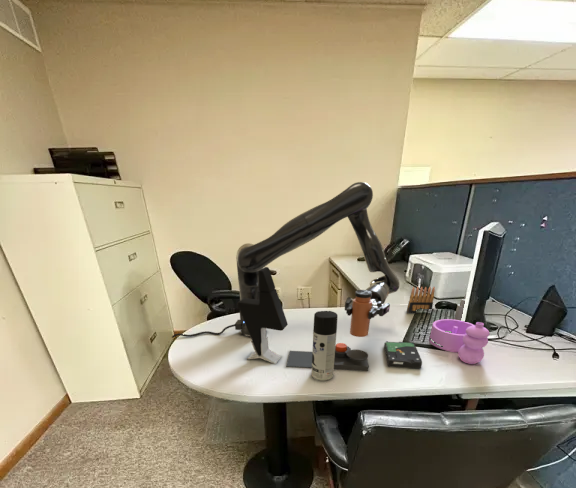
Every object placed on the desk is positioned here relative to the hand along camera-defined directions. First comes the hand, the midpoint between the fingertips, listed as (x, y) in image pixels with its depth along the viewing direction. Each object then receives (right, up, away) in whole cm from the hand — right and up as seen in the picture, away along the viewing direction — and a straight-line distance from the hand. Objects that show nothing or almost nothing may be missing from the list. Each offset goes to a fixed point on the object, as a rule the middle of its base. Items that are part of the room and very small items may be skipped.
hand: (359, 314), depth 95 cm
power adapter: (+53, +4, +43) cm, 68 cm away
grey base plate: (-2, -14, +12) cm, 19 cm away
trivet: (-15, -13, +14) cm, 25 cm away
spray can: (-10, -18, +5) cm, 22 cm away
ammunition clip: (+39, +9, +53) cm, 66 cm away
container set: (+39, -9, +21) cm, 45 cm away
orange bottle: (+1, -5, +6) cm, 8 cm away
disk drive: (+17, -12, +15) cm, 26 cm away
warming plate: (+1, -12, +9) cm, 15 cm away
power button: (-3, -10, +13) cm, 17 cm away
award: (-29, -13, +16) cm, 35 cm away
